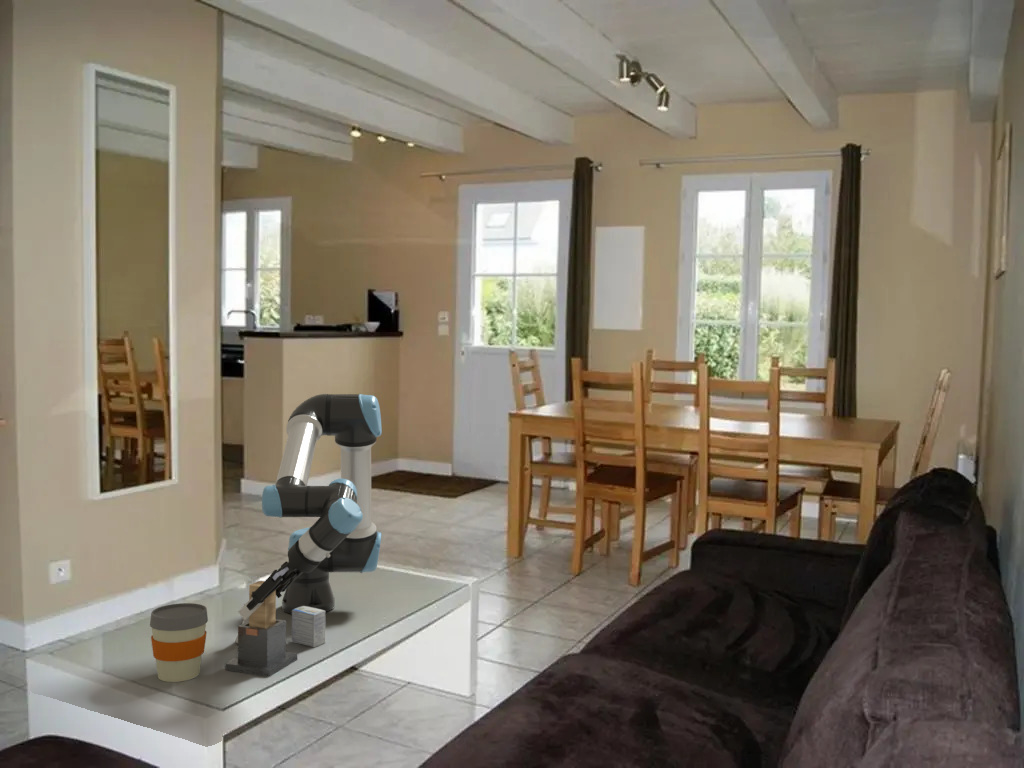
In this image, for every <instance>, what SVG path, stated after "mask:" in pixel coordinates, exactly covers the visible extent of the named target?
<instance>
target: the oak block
mask: <svg viewBox="0 0 1024 768" xmlns="http://www.w3.org/2000/svg"><path fill="white" fill-rule="evenodd" d="M264 581H265V580H258V581H255V582H253V583H251V584H249V586H248V589H249V591H248V595H249V598H248V599H249V600H250V599H251V598H252V596H251V595H252V592H253V591H256V590H257V589H258V588H259V587H260V586H261V585H262V584H263V583H264ZM276 598H277V596H276V590H275V591H274V592H273V593H272V594H271V595H269V596H268V597H267V598H266V599H265V600H264V601H263V602H264V603H263V604H262V605H261V606H260V607H259V608H258V609H257V610H256V611H255V612H254V613H253V614H252V615H251V616H250V617H249V626H251V627H258V628H268V627H270V626H272V625H274V624H275V621H276V611H277V610H276V609H277V607H276V605H277V602H276V601H277V599H276ZM249 600H248V601H249Z"/></svg>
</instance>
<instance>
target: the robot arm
mask: <svg viewBox="0 0 1024 768" xmlns="http://www.w3.org/2000/svg"><path fill="white" fill-rule="evenodd" d="M285 427H286V430H285V431H286V434H287V439H286V441H285V442H286V443H285V447H284V451H283V454H282V457H281V461H280V466H279V469H278V473H277V476H276V481H275V484H272V485H266V486H265V487H264V488H263V490H262V494H261V507H262V508H261V510H262V513H263V515H264V516H265V517H269V518H270V517H272V518H274V517H275V518H318V519H317V520H316V521H315V522H314V524H312V525H311V526H310V527H304V528H300V529H298V530H295V531H293V532H291V534H290V536H289V539H288V547H287V557H288V561H285V562H283V564H281V565H280V567H279V568H278V569H274V570H273V571H272V572H271V574H270V575H269V576H268V577H267V578H266V579H265V580H263V581H264V583H263V584H262V585H261V586H260V587H259V588H258V589H257V590H256V591H253V592H252V595H251V596H252V598H251V599H250V600H248V601H247V602H245V603H244V604H245V605H244V604H243V606H242V607H241V608H240V609H239V610H238V611H237V612H238V614H239V615H240V616H241V617H242V619H243V620H247V619H248V618H249V617H250V616H251V615H252V614H253V613H254V612H255V611H256V610H257V609H258V608H259V607H260V606H261V605H262V604H263V603H264V602H263V601H264V600H265V599H266V598H267V597H268V596H269V595H271V594H272V593H273V592H274V591H275V590H276V598H277V599H280V598H281V597H282V594H281V593H284V594H283V597H282V601H281V610H282V611H283V612H284V613H287V614H290V615H292V610H293V609H295V608H298V607H301V606H307V607H312V608H317V609H321V610H325V613H327V612H326V611H328V612H330V611H332V610H333V609H334V608H335V607H334V606H336V604H335V603H336V602H335V601H336V600H335V599H336V598H335V595H334V592H333V590H332V585H331V583H330V573H360V574H362V573H372V572H374V571H376V570H377V568H378V565H379V558H380V549H381V548H380V547H381V543H382V542H381V541H382V532H379V531H377V529H378V528H377V525H376V524H375V523H374V522H372V447H373V446H374V445H375V444H376V443H377V438H378V437H381V435H382V434H383V433H382V430H383V429H382V416H381V408H380V403H379V400H378V398H377V397H376V396H375V395H371V394H362V393H356V394H354V393H353V394H352V393H350V394H348V393H347V394H345V393H343V394H342V393H340V394H339V393H338V394H336V393H335V394H333V393H321V394H317V395H314V396H311V397H309V398H307V399H305V400H304V401H303V402H302V403H300V404H299V405H298V406H297V407H296V408H295V409H294V410H293V411H292V413H291V414H290V416H289V418H288V419H287V424H286V426H285ZM323 436H330V437H331V436H332V437H334V444H336V445H337V446H338V447H339V448H340V478H337V479H333V480H331V482H330V483H329V484H328V485H308V483H309V478H310V474H311V473H310V472H311V468H312V464H313V459H314V455H315V450H316V445H317V442H318V441H319V440H320V439H321V437H323ZM333 607H334V608H333ZM332 608H333V609H332ZM331 609H332V610H331ZM329 610H330V611H329Z"/></svg>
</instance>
